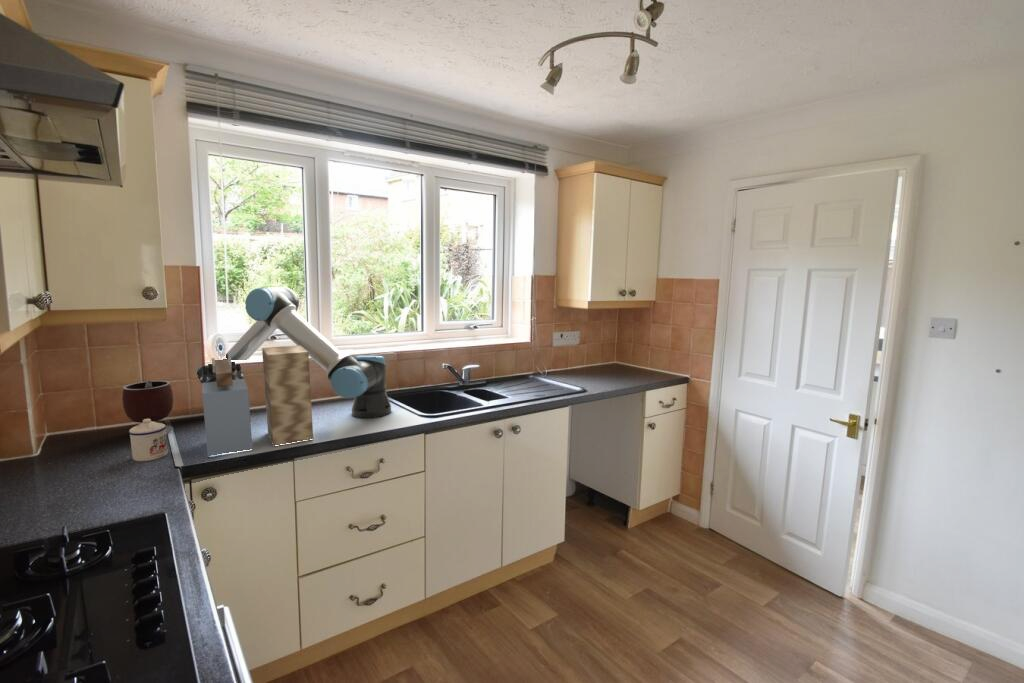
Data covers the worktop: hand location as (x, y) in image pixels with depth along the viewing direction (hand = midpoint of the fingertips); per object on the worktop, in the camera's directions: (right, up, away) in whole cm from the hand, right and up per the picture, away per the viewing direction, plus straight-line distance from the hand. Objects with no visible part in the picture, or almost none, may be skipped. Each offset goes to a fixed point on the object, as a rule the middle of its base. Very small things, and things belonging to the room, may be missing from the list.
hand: (221, 361), depth 163 cm
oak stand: (+21, -26, +5) cm, 33 cm away
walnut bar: (+3, -5, -4) cm, 7 cm away
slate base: (+5, -27, -5) cm, 28 cm away
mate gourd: (-28, -25, +7) cm, 39 cm away
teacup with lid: (-14, -28, -12) cm, 34 cm away
